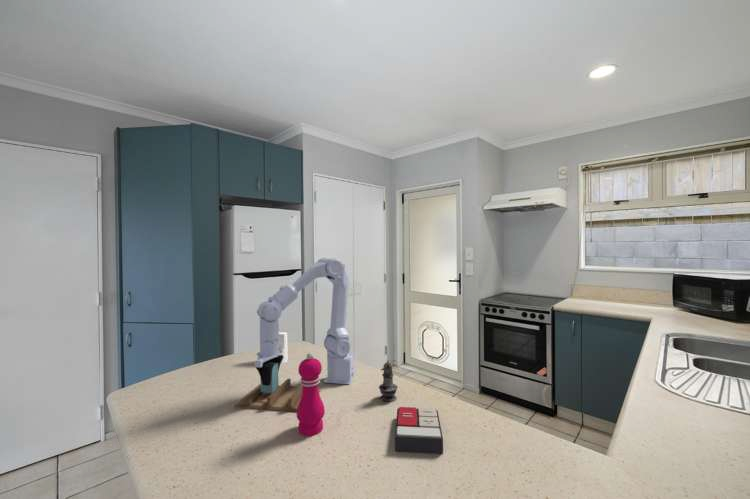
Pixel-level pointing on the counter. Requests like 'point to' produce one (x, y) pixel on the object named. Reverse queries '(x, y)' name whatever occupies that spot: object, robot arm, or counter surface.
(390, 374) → the dark grey tall piece
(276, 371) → the plug block
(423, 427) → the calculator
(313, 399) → the pepper mill
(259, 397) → the slot rack
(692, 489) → the counter surface
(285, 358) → the cylinder with rectangular tab
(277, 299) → the robot arm
